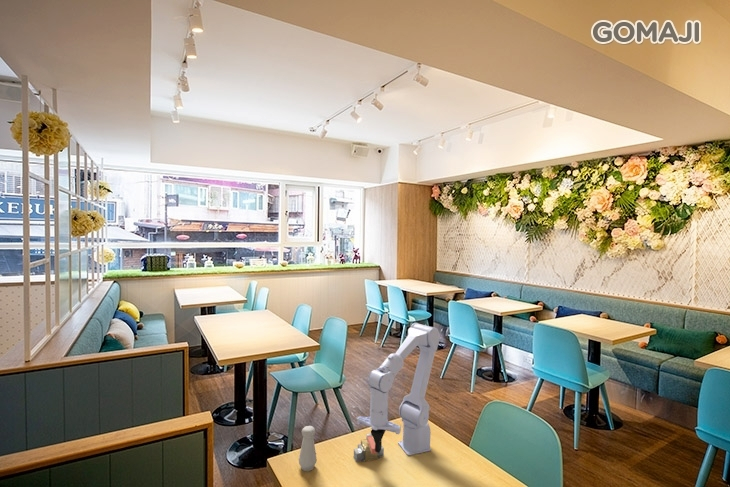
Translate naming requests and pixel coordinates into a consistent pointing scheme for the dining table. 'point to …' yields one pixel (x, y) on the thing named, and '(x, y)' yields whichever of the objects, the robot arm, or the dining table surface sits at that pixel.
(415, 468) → the dining table surface
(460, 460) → the dining table surface
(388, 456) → the dining table surface
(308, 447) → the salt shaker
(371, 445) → the lever
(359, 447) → the valve base
